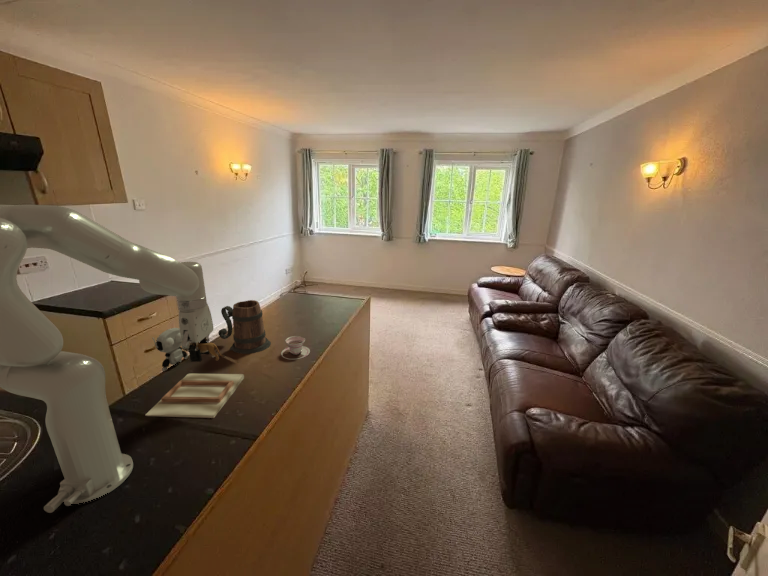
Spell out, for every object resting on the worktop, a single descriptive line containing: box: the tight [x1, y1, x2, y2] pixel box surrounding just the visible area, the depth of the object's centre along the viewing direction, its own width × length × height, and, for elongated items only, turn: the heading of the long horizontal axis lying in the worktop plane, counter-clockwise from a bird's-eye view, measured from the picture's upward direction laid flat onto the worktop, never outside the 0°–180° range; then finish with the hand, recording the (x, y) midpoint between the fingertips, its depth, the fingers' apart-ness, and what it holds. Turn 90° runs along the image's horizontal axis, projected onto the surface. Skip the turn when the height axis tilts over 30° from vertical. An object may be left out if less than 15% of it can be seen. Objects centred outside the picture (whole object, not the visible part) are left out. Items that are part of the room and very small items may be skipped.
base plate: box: [145, 373, 245, 419], centre depth 103 cm, size 22×20×3 cm
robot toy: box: [152, 327, 189, 372], centre depth 119 cm, size 12×4×15 cm, turn 166°
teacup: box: [280, 335, 311, 360], centre depth 132 cm, size 12×12×6 cm
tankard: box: [218, 299, 272, 355], centre depth 135 cm, size 24×17×20 cm
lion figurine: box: [181, 341, 226, 361], centre depth 98 cm, size 12×4×7 cm, turn 103°
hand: (200, 356), depth 99 cm, fingers closed on lion figurine, 4 cm apart
